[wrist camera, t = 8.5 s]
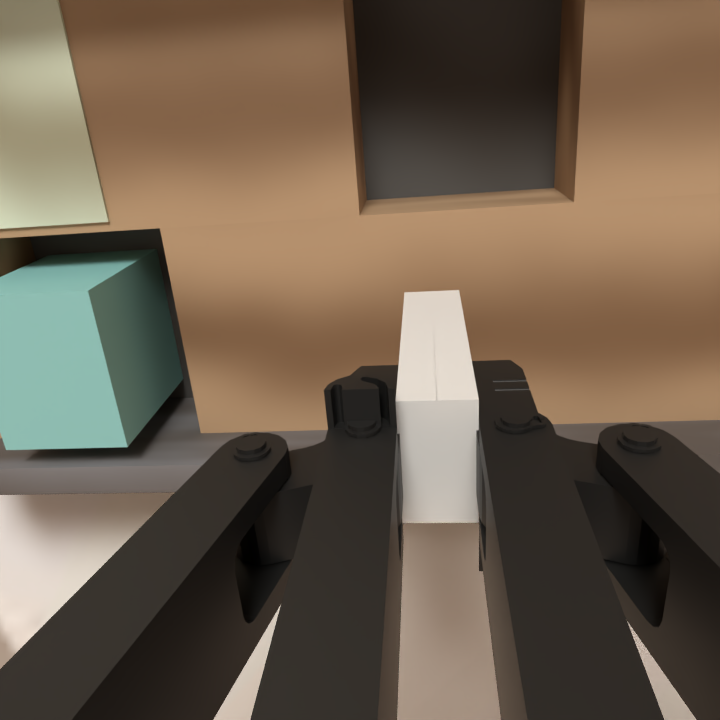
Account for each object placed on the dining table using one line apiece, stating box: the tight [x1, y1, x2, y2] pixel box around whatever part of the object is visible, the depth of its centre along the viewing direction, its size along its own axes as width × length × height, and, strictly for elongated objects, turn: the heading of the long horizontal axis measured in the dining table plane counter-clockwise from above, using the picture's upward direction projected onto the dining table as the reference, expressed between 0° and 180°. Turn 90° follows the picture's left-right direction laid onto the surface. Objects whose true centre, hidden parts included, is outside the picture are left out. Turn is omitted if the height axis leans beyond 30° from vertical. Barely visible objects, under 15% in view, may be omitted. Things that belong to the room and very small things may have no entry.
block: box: [0, 249, 183, 450], centre depth 21 cm, size 5×5×4 cm
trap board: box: [0, 0, 720, 495], centre depth 19 cm, size 16×28×5 cm, turn 94°
